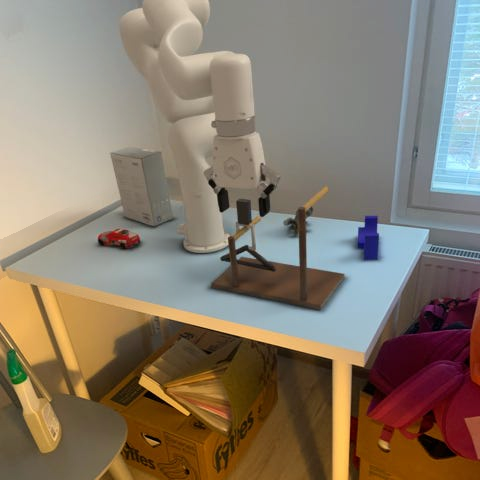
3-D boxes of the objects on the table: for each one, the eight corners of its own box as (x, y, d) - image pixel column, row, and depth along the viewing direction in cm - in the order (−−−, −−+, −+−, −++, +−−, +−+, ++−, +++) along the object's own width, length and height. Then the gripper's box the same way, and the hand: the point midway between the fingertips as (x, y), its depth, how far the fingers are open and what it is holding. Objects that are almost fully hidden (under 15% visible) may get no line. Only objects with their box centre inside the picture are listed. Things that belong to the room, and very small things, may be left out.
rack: (211, 287, 110) (198, 199, 99) (242, 260, 120) (233, 177, 109) (320, 310, 98) (320, 212, 87) (344, 278, 108) (347, 186, 97)
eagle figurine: (316, 233, 127) (319, 214, 133) (300, 213, 123) (304, 194, 130) (292, 246, 131) (297, 226, 137) (276, 227, 128) (281, 208, 134)
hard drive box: (174, 218, 148) (162, 151, 137) (154, 227, 143) (140, 158, 132) (143, 209, 157) (130, 145, 146) (123, 217, 153) (108, 152, 142)
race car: (95, 244, 137) (91, 231, 135) (108, 237, 141) (104, 224, 138) (130, 251, 131) (127, 237, 129) (143, 243, 135) (140, 229, 132)
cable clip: (357, 238, 124) (358, 215, 121) (376, 238, 124) (377, 215, 120) (357, 259, 115) (358, 235, 112) (377, 259, 114) (379, 235, 111)
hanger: (219, 262, 113) (212, 197, 105) (222, 259, 114) (216, 195, 106) (274, 273, 107) (272, 206, 98) (277, 270, 108) (275, 203, 99)
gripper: (188, 131, 95) (200, 214, 105) (267, 133, 88) (273, 223, 97) (208, 122, 101) (218, 202, 110) (285, 123, 93) (289, 210, 102)
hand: (244, 212), depth 103 cm, fingers open, 9 cm apart
